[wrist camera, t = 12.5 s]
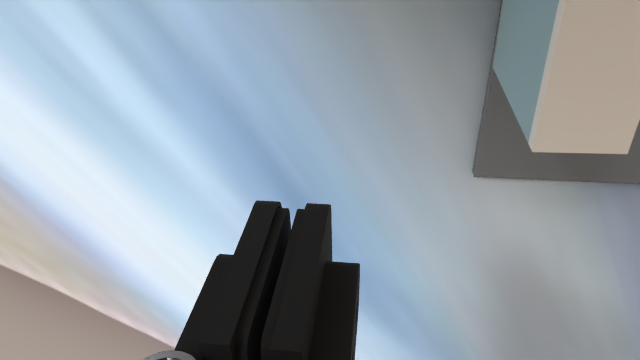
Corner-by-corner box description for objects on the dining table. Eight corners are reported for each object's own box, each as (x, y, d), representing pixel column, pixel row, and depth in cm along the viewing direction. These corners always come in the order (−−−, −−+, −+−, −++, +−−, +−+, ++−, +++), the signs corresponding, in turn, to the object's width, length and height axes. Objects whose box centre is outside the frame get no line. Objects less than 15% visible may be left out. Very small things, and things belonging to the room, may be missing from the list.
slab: (518, -104, 19) (584, -82, 12) (599, -107, 19) (711, -87, 12) (492, 67, 23) (532, 151, 16) (559, 67, 23) (627, 154, 16)
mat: (514, -71, 20) (517, -69, 20) (806, -75, 19) (818, -74, 18) (472, 170, 27) (473, 176, 26) (686, 180, 26) (692, 186, 25)
